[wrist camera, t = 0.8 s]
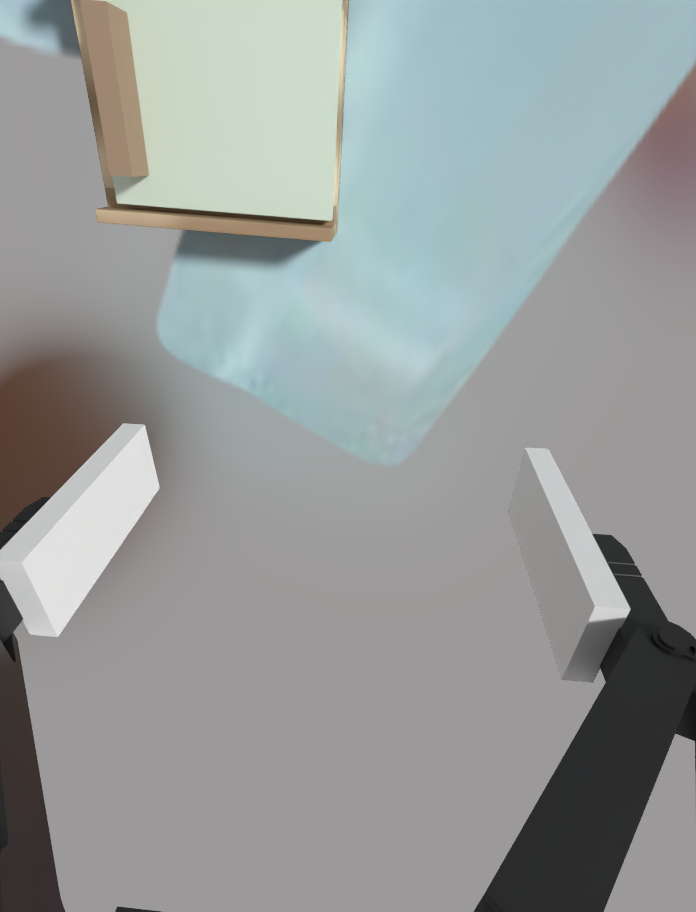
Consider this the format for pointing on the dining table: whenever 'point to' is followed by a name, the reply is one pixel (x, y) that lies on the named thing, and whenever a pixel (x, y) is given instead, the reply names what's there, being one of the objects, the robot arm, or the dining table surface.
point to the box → (201, 218)
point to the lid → (219, 102)
